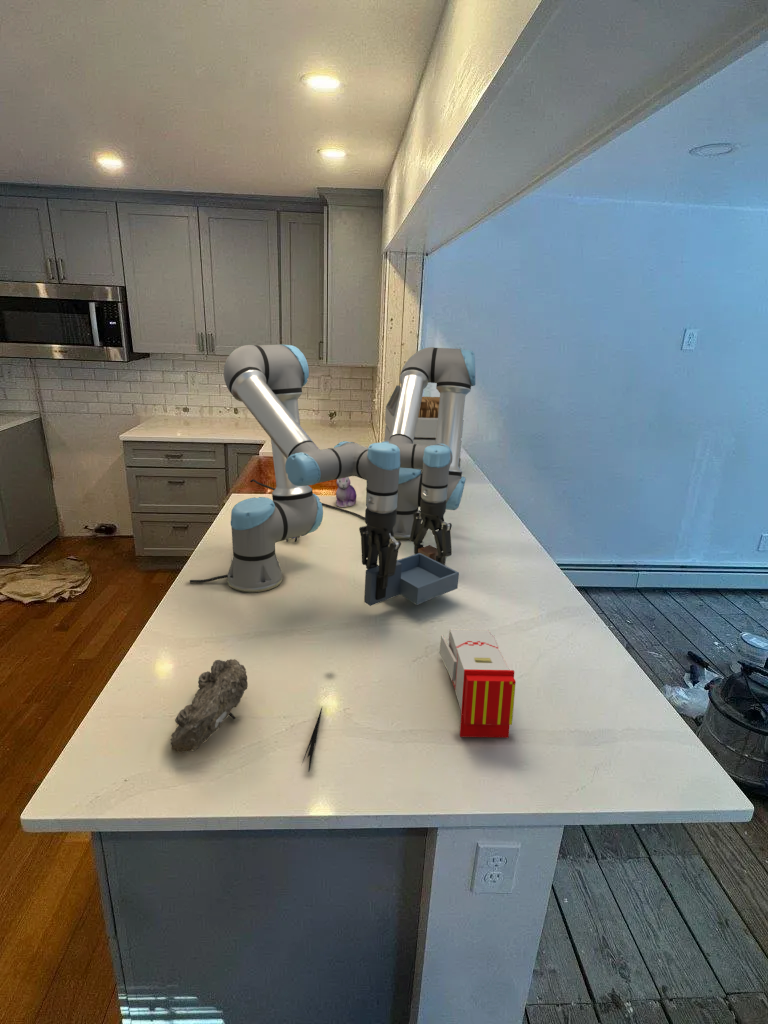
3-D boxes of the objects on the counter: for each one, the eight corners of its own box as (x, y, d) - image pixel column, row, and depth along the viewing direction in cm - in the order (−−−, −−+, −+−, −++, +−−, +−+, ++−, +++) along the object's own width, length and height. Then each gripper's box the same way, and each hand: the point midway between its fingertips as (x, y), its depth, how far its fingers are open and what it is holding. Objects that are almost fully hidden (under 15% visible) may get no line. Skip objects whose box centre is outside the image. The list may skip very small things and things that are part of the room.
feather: (331, 679, 122) (336, 673, 122) (307, 777, 96) (313, 769, 95) (324, 675, 122) (329, 669, 121) (298, 772, 95) (304, 764, 95)
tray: (348, 592, 147) (349, 560, 144) (418, 567, 163) (420, 539, 160) (386, 617, 137) (388, 583, 134) (457, 588, 153) (460, 558, 149)
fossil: (195, 660, 117) (247, 628, 112) (227, 691, 120) (279, 661, 115) (146, 746, 98) (206, 711, 93) (185, 779, 101) (245, 748, 96)
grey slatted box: (381, 463, 289) (385, 382, 275) (444, 464, 292) (450, 384, 279) (389, 482, 257) (393, 392, 243) (459, 483, 261) (467, 394, 247)
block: (416, 569, 173) (417, 548, 171) (428, 565, 176) (429, 544, 174) (428, 575, 170) (429, 554, 167) (439, 571, 173) (441, 550, 170)
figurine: (339, 509, 221) (340, 472, 216) (329, 501, 229) (330, 465, 224) (361, 506, 225) (362, 470, 220) (351, 498, 234) (352, 463, 228)
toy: (489, 613, 130) (525, 677, 101) (485, 667, 133) (518, 744, 104) (437, 612, 130) (457, 676, 101) (434, 666, 133) (453, 743, 103)
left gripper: (349, 502, 138) (346, 587, 147) (390, 521, 128) (385, 612, 136) (372, 496, 143) (368, 580, 151) (414, 515, 132) (408, 603, 140)
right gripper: (400, 492, 170) (396, 561, 178) (451, 511, 155) (444, 586, 163) (418, 488, 175) (413, 555, 182) (469, 506, 160) (462, 579, 168)
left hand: (376, 595), depth 143 cm, fingers closed on tray, 2 cm apart
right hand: (428, 569), depth 173 cm, fingers open, 8 cm apart
